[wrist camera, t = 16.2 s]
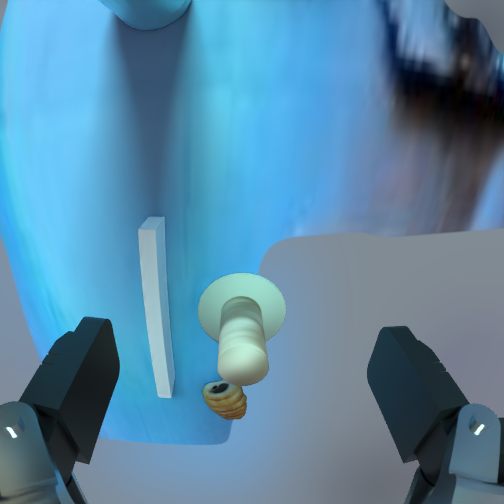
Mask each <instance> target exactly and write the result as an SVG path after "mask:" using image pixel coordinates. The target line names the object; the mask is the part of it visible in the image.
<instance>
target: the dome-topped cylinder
mask: <svg viewBox="0 0 504 504" xmlns="http://www.w3.org/2000/svg"><path fill="white" fill-rule="evenodd" d="M268 370H269V364H268V356H267V349H266V342H265V335H264V327H263V320H262V313H261V308H260V306H259V304H258V303H257V302H256V301H255V300H253V299H251V298H249V297H245V296H238V297H234V298H231V299H229V300H228V301H226V302H225V304H224V305H223V306H222V309H221V318H220V334H219V352H218V372H219V375H220V376H221V377H222V378H223V379H224V380H225V381H227V382H228V383H231V384H233V385H238V386H247V385H252V384H255V383H257V382H259V381H261V380H262V379H263V378H264V377H265V376H266V375H267V373H268Z"/></svg>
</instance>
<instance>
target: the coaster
mask: <svg viewBox="0 0 504 504" xmlns="http://www.w3.org/2000/svg"><path fill="white" fill-rule="evenodd" d="M238 296H245V297H249V298H251V299H253V300H255V301H256V302H257V303H258V304H259V306H260V308H261V313H262V320H263V327H264V335H265V342H266V341H267V340H269V339H270V338H272V337H273V336H274V335H275V334H276V333H277V332H278V331H279V329H280V328H281V326H282V324H283V322H284V320H285V315H286V305H285V301H284V298H283V295H282V293H281V292H280V290H279V289H278V288H277V286H276V285H274V284H273V283H272V282H271V281H269V280H268V279H266V278H264V277H262V276H259V275H257V274H252V273H232V274H228V275H225V276H223V277H220V278H218V279H217V280H215V281H214V282H212V283H211V284H210V285H209V286H208V287H207V288H206V289H205V290H204V292H203V293H202V295H201V297H200V300H199V304H198V318H199V322H200V324H201V326H202V328H203V329H204V331H205V332H206V333H207V334H208V335H209V336H210V337H211V338H213V339H214V340H215V341H217V342H219V334H220V318H221V309H222V306H223V305H224V304H225V302H226V301H228V300H229V299H231V298H234V297H238Z"/></svg>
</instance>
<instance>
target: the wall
mask: <svg viewBox="0 0 504 504" xmlns="http://www.w3.org/2000/svg"><path fill="white" fill-rule="evenodd" d="M138 237H139V252H140V265H141V277H142V288H143V297H144V306H145V315H146V323H147V331H148V338H149V345H150V352H151V358H152V364H153V370H154V376H155V382H156V388H157V393H158V397H163V398H171V397H172V392H173V386H174V381H175V368H174V359H173V349H172V338H171V327H170V315H169V301H168V285H167V266H166V241H165V217H152V216H149V217H148V218H147V220H146V221H145V222H144V223H143V224H142V225H141V227H140V228H139V229H138Z"/></svg>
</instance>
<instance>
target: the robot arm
mask: <svg viewBox="0 0 504 504" xmlns="http://www.w3.org/2000/svg"><path fill="white" fill-rule="evenodd" d="M98 1H100V2H101V3H102V4H103V5H105V6H106V7H107V8H108V9H109V10H111V11H112V12H113V13H114V14H115V15H116V16H118V17H119V18H120V19H121V20H122V21H124V22H125V23H126V24H127V25H129V26H131V27H132V28H135V29H139V30H153V29H158V28H161V27H164V26H166V25H169V24H171V23H172V22H174V21H175V20H177V19H178V18H179V17H180V16H181V15H182V14H183V13H184V12H185V11H186V9H187V8H188V7H189V4H190V2H191V0H98ZM439 361H440V360H439V359H438V357H437V356H436V355H435V353H434V352H433V351H432V349H430V348H429V347H428V346H426V345H425V344H424V343H422V342H421V341H419V340H417V339H416V338H415V336H414V335H413V334H412V332H411V331H410V330H409V328H408V327H406V326H394V327H383V328H382V329H381V330H380V332H379V335H378V338H377V341H376V344H375V347H374V350H373V353H372V355H371V358H370V361H369V364H368V368H367V379H368V383H369V385H370V387H371V390H372V392H373V394H374V396H375V399H376V401H377V403H378V405H379V408H380V410H381V412H382V414H383V416H384V419H385V421H386V424H387V426H388V428H389V430H390V433H391V435H392V437H393V440H394V442H395V444H396V447H397V449H398V451H399V454H400V456H401V459H402V461H403V463H407V462H410V461H414V460H418V461H419V464H420V465H419V467H418V468H417V469H416V472H415V474H414V477H413V480H412V483H411V486H410V489H409V492H408V494H407V497H406V499H405V502H404V504H504V418H498V417H497V415H496V414H495V413H494V412H493V411H492V410H491V409H490V408H488V407H486V406H485V405H482V404H476V403H473V404H470V403H469V402H468V400H467V399H466V397H465V396H464V394H463V393H462V391H461V390H460V389H459V387H458V386H457V384H456V383H455V381H454V380H453V378H452V377H451V376H450V374H449V373H448V372H446V369H445V367H444V366H443V364H442V363H440V362H439ZM119 371H120V362H119V356H118V352H117V347H116V343H115V338H114V333H113V328H112V324H111V321H110V320H109V319H103V318H94V317H84V318H83V319H82V320H81V322H80V323H79V325H78V326H77V328H76V330H75V331H74V332H71V331H68V332H67V333H66V334H64V335H63V336H62V337H60V338H59V339H58V340H56V341H55V343H54V345H53V346H52V348H51V349H50V351H49V352H48V355H46V357H45V358H44V360H43V361H42V365H40V366H39V368H38V369H37V371H36V373H35V374H34V376H33V378H32V380H31V381H30V383H29V384H28V386H27V388H26V389H25V391H24V393H23V395H22V396H21V398H20V400H19V401H12V402H7V403H4V404H2V405H0V504H88V502H87V500H86V498H85V496H84V494H83V492H82V490H81V488H80V486H79V483H78V481H77V479H76V477H75V475H74V473H73V471H72V470H73V467H74V464H75V461H78V462H82V463H86V464H89V463H90V460H91V457H92V454H93V450H94V447H95V444H96V441H97V438H98V435H99V432H100V429H101V426H102V423H103V420H104V417H105V414H106V411H107V408H108V405H109V402H110V400H111V397H112V394H113V391H114V389H115V386H116V383H117V380H118V377H119Z"/></svg>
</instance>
